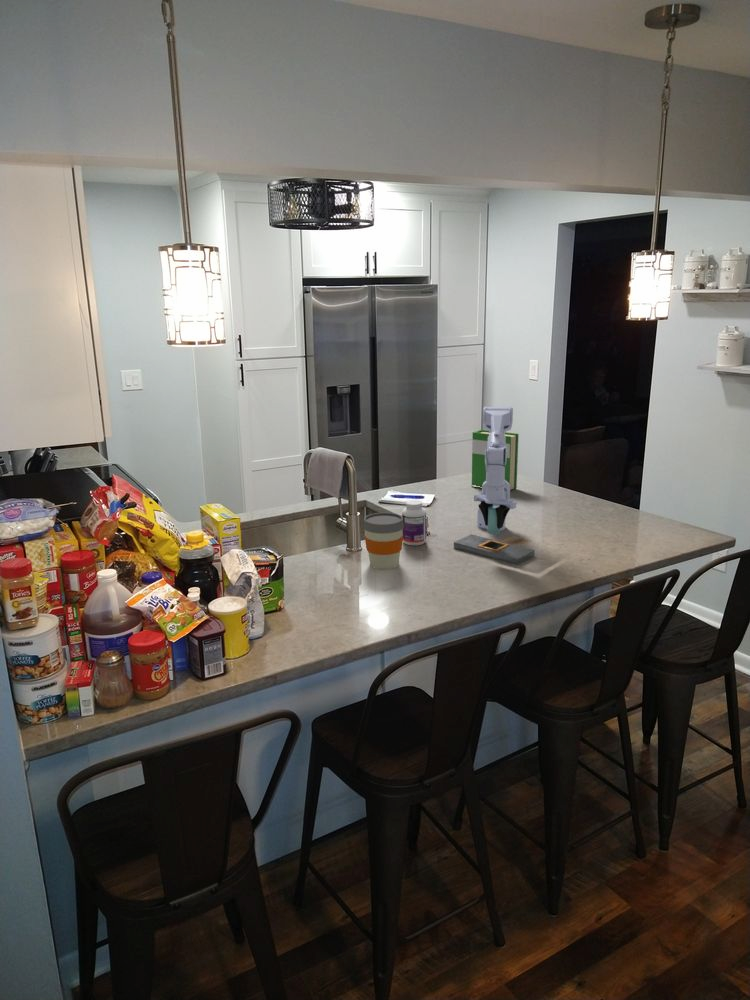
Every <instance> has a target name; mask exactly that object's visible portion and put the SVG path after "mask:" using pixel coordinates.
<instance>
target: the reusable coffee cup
mask: <svg viewBox="0 0 750 1000" xmlns="http://www.w3.org/2000/svg"><path fill="white" fill-rule="evenodd" d="M403 528H404V523H403V517H402V514H401V515H400V514H398V513H395V512H393V513H392V512H377V513H376V512H374V513H371V514H367V515H365V516H364V518H363V530H364V532H365V533H364V540H365V543H364V544H365V548H366V551H367V552H368V557H369V563H370V567H372V568H374V569H378V570H389V569H390V570H391V569H394V568H396V567H398V566H399V565H400V554H401V551H402V549H403V543H404V542H403V534H402V531H403Z"/></svg>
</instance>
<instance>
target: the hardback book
mask: <svg viewBox="0 0 750 1000" xmlns="http://www.w3.org/2000/svg"><path fill="white" fill-rule="evenodd" d="M489 434H490V431H488V430H485V429H479V430H475V431H473V432H472V438H471V440H472V443H471V444H472V448H471V451H472V452H471V453H472V454H471V455H472V456H471V486H472V485H476V486H480V487H482V485H483V483H484V482H485V481H486V472H487V471H486V465H485V450H486V451H487V442H488V436H489ZM505 437H506V450H507V460H506V466H505V480H506V481H507V482H508V483H509V485H510V491H511V490H514V489H516V488H518V487H517V486H518V460H519V458H518V457H519V433H513V432H508V431H506V432H505ZM503 464H504V465H505V463H503ZM513 488H514V489H513ZM516 490H517V489H516Z"/></svg>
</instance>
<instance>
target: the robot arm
mask: <svg viewBox="0 0 750 1000" xmlns="http://www.w3.org/2000/svg"><path fill="white" fill-rule="evenodd" d="M482 410H483V411H482V412H483V413H482V414H483V415H482V416H483V417H482V423H483V428H484V430H488V431H490V434H489V436H488V442H487V451H486V450H485V465H486V471H487V472H486V481H485V482H484V483H483V485H482V489H481V494H479V493H477V494H473V502H479V504H478V509H477V523H476V525H477V527H478V528H481V529H485V530H487V531H488V507H492V506H496V507H497V508H496V513H497V528H499V529H500V532H501V531H504V530H505V529H506V517H507V516H508V513H509V511H510V510H514V509H516V508H517V501H514V500H511V490H510V485H509V483H508V482H507V481H506V480H505V466H506V460H507V450H506V437H505V432H508V431H511V430H512V427H513V423H514V422H513V421H514V419H513V415H514V408H513V407H512V406H484V407H483V409H482ZM503 463H505V465H504V464H503Z"/></svg>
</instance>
